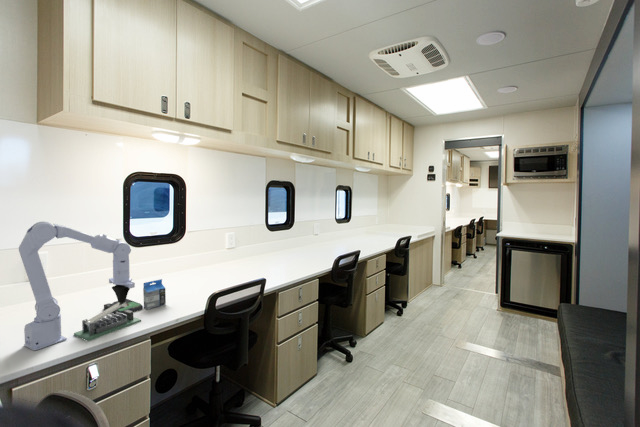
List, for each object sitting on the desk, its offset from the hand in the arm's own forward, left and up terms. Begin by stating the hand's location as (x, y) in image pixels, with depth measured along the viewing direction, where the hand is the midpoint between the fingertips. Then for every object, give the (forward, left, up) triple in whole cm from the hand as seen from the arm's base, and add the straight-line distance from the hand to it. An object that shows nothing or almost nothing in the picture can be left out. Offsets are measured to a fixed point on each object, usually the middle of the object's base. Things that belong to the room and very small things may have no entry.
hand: (122, 302), depth 125 cm
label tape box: (+19, +6, -9) cm, 22 cm away
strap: (-6, 0, -4) cm, 7 cm away
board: (-5, 0, -9) cm, 10 cm away
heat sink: (-7, 0, -8) cm, 11 cm away
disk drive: (+9, +15, -10) cm, 20 cm away
